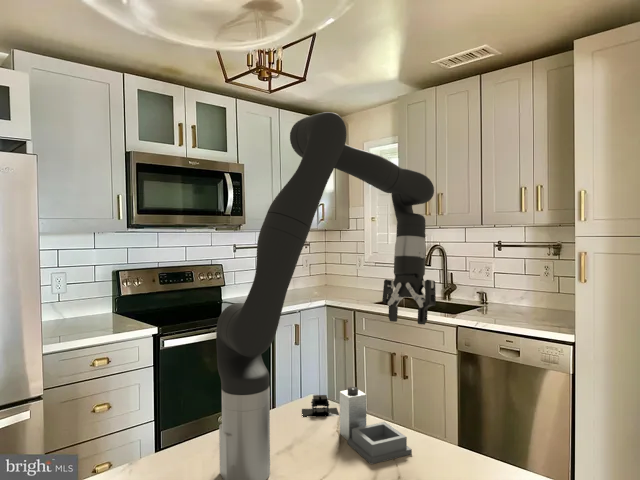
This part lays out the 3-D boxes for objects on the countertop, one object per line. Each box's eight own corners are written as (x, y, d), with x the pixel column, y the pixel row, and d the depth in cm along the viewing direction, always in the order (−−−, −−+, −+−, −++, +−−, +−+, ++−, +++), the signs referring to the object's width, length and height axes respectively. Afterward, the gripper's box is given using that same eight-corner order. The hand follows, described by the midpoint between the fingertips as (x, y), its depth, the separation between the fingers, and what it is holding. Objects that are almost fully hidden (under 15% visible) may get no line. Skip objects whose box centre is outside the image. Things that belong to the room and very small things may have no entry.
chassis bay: (371, 464, 94) (371, 447, 94) (347, 443, 103) (347, 428, 103) (411, 453, 98) (411, 437, 98) (385, 435, 107) (385, 420, 107)
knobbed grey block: (349, 441, 104) (348, 393, 103) (339, 433, 108) (339, 387, 108) (366, 437, 106) (366, 390, 105) (356, 430, 110) (356, 384, 109)
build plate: (296, 420, 117) (296, 402, 117) (296, 409, 124) (296, 392, 124) (345, 419, 118) (345, 401, 117) (342, 408, 125) (342, 391, 125)
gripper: (377, 255, 116) (374, 320, 114) (424, 253, 106) (422, 324, 104) (396, 258, 121) (394, 321, 119) (443, 257, 111) (441, 325, 108)
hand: (407, 322), depth 111 cm, fingers open, 8 cm apart
